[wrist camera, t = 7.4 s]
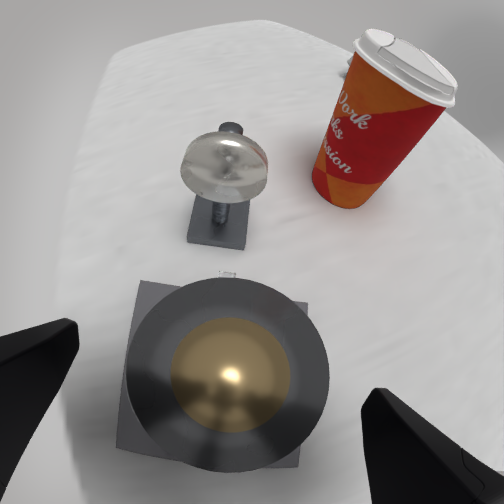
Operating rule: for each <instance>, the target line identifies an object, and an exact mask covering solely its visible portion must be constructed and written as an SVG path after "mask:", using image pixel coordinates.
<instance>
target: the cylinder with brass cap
mask: <svg viewBox="0 0 504 504" xmlns="http://www.w3.org/2000/svg"><path fill="white" fill-rule="evenodd" d="M329 379H330V377H329V364H328V358H327V353H326V350H325V347H324V344H323V341H322V339H321V337H320V335H319V333H318V331H317V329H316V328H315V326H314V324H313V323H312V321H311V320H310V319H309V317H308V316H307V315H306V314H305V313H304V311H303V310H302V309H301V308H300V307H298V306H297V305H296V304H295V303H294V302H293V301H292V300H290V299H289V298H288V297H286V296H285V295H283V294H282V293H280V292H278V291H276V290H275V289H273V288H271V287H268V286H266V285H263V284H261V283H258V282H254V281H251V280H246V279H240V278H225V277H223V278H211V279H206V280H201V281H197V282H194V283H191V284H188V285H185V286H183V287H181V288H179V289H177V290H175V291H173V292H172V293H170V294H169V295H167V296H166V297H164V298H163V299H162V300H161V301H160V302H158V303H157V304H156V305H155V306H154V307H153V308H152V309H151V310H150V311H149V312H148V314H147V315H146V316H145V317H144V319H143V320H142V322H141V323H140V325H139V326H138V328H137V330H136V332H135V334H134V336H133V339H132V342H131V345H130V348H129V352H128V357H127V363H126V381H127V390H128V394H129V398H130V402H131V405H132V407H133V410H134V412H135V415H136V416H137V418H138V420H139V422H140V423H141V425H142V427H143V428H144V429H145V431H146V432H147V433H148V435H149V436H150V437H151V438H152V439H153V440H154V441H155V442H156V443H157V444H158V445H159V446H160V447H161V448H162V449H164V450H165V451H166V452H168V453H169V454H170V455H172V456H173V457H175V458H177V459H179V460H181V461H182V462H184V463H187V464H189V465H192V466H194V467H197V468H201V469H205V470H209V471H215V472H224V473H232V472H245V471H251V470H255V469H259V468H262V467H265V466H268V465H270V464H272V463H275V462H277V461H279V460H280V459H282V458H284V457H285V456H287V455H288V454H290V453H291V452H292V451H294V450H295V449H296V448H297V447H298V446H300V445H301V444H302V443H303V441H304V440H305V439H306V438H307V437H308V436H309V435H310V433H311V432H312V430H313V429H314V428H315V426H316V424H317V423H318V421H319V419H320V417H321V415H322V412H323V410H324V407H325V404H326V400H327V396H328V391H329Z"/></svg>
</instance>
